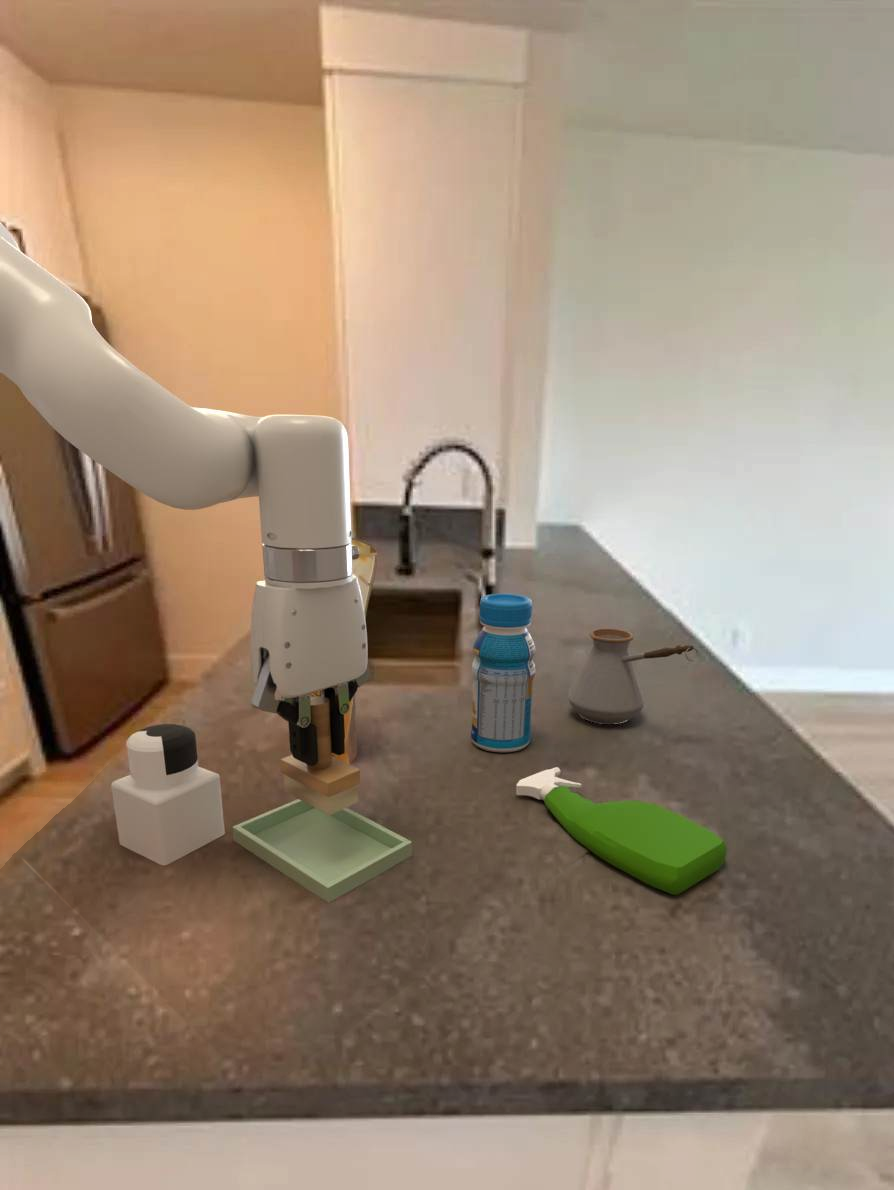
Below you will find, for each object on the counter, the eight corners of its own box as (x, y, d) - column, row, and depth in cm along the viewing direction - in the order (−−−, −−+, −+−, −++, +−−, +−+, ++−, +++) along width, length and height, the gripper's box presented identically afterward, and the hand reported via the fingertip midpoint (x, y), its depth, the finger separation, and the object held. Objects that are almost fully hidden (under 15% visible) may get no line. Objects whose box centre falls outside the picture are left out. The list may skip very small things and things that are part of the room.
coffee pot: (551, 710, 111) (557, 615, 106) (607, 697, 117) (615, 607, 113) (651, 763, 94) (663, 653, 90) (711, 745, 100) (725, 641, 96)
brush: (281, 791, 71) (274, 696, 68) (313, 778, 74) (308, 686, 71) (329, 817, 67) (324, 716, 64) (361, 802, 70) (358, 705, 66)
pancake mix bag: (330, 715, 106) (322, 521, 97) (385, 765, 91) (382, 541, 82) (284, 723, 102) (272, 523, 94) (334, 777, 87) (325, 544, 79)
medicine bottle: (181, 816, 78) (169, 712, 74) (226, 836, 74) (216, 728, 70) (118, 846, 72) (102, 735, 68) (164, 869, 68) (150, 753, 65)
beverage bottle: (493, 760, 93) (499, 609, 87) (457, 737, 100) (460, 595, 94) (544, 745, 98) (552, 601, 92) (506, 725, 105) (512, 589, 99)
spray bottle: (668, 905, 66) (494, 802, 83) (735, 863, 73) (561, 776, 90) (671, 876, 65) (495, 779, 83) (739, 837, 72) (563, 755, 89)
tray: (233, 843, 73) (232, 826, 72) (316, 806, 81) (315, 791, 80) (328, 906, 64) (327, 888, 63) (412, 858, 72) (412, 841, 71)
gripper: (352, 549, 72) (358, 722, 77) (199, 569, 60) (219, 771, 65) (405, 559, 67) (407, 741, 73) (251, 582, 55) (268, 798, 61)
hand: (318, 754), depth 69 cm, fingers closed on brush, 2 cm apart
